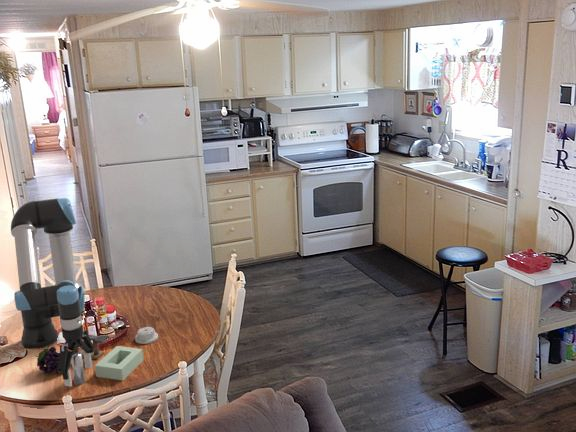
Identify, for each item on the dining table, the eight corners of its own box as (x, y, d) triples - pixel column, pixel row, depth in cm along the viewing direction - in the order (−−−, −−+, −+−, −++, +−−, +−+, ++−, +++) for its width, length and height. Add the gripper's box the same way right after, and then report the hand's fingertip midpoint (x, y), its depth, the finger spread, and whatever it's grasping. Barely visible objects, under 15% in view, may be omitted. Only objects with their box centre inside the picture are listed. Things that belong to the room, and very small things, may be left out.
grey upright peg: (72, 384, 217) (68, 356, 214) (78, 378, 221) (74, 351, 218) (81, 385, 216) (77, 357, 213) (87, 380, 220) (83, 352, 217)
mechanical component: (131, 343, 248) (152, 345, 246) (130, 334, 247) (151, 336, 245) (141, 333, 258) (161, 334, 256) (140, 324, 256) (161, 326, 254)
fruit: (61, 383, 224) (26, 372, 225) (75, 365, 233) (41, 355, 234) (61, 364, 219) (26, 353, 220) (75, 347, 228) (41, 336, 230)
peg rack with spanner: (66, 355, 239) (64, 336, 236) (74, 349, 243) (71, 331, 241) (104, 360, 234) (102, 341, 232) (111, 354, 239) (108, 335, 236)
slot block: (96, 376, 222) (94, 365, 221) (118, 356, 237) (117, 345, 236) (123, 380, 219) (121, 369, 218) (143, 359, 234) (142, 349, 233)
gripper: (59, 342, 200) (67, 395, 206) (99, 313, 223) (105, 361, 228) (41, 340, 202) (49, 392, 208) (83, 311, 225) (89, 359, 230)
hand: (78, 376), depth 218 cm, fingers open, 12 cm apart
